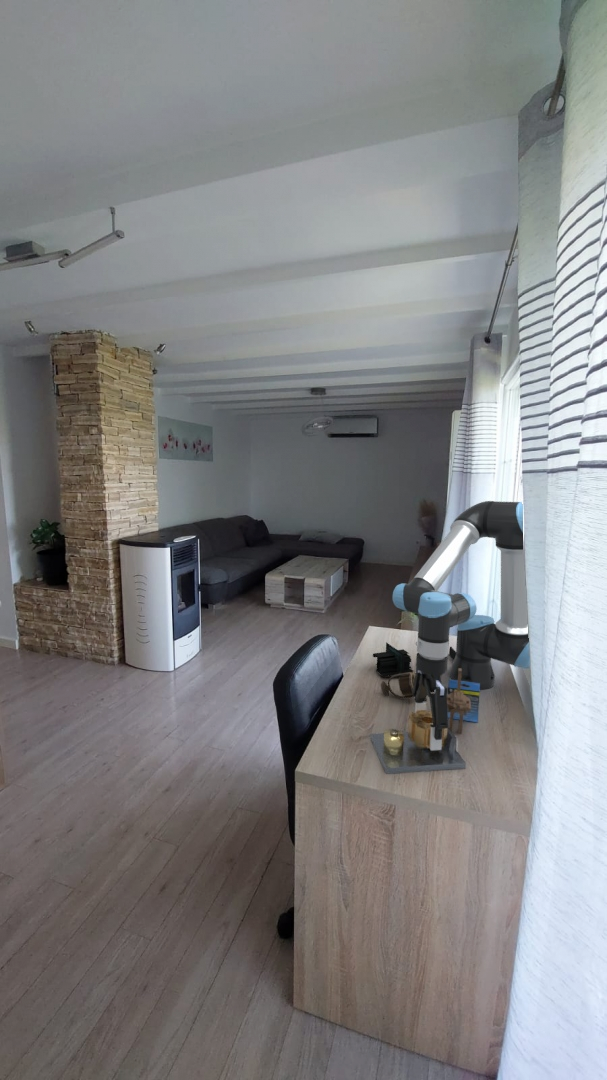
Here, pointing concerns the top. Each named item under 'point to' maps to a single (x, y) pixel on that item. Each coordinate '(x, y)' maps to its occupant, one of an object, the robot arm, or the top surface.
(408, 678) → the mechanical counter
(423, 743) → the gear
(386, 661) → the extrusion
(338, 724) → the top surface
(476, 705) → the label tape cartridge
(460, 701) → the ostrich figurine
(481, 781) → the top surface
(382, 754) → the carrier
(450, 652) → the battery charger
